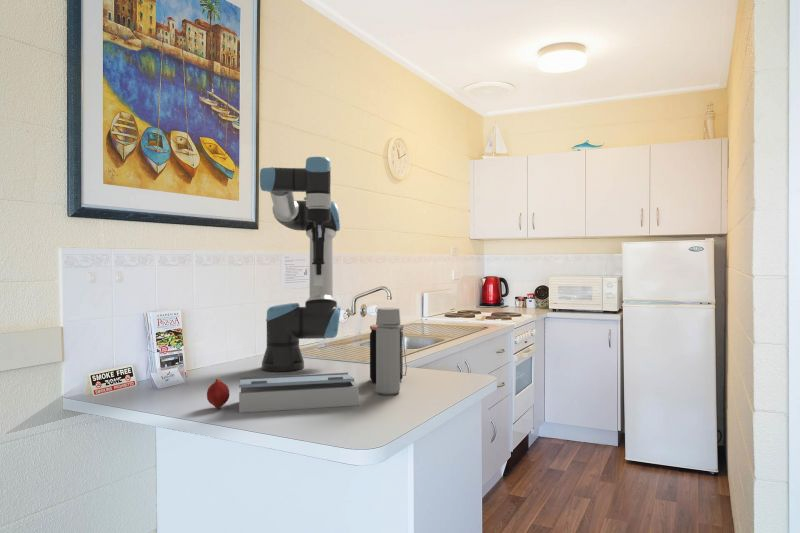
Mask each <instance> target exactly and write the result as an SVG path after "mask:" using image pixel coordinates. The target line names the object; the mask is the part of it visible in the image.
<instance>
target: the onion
mask: <svg viewBox="0 0 800 533" xmlns="http://www.w3.org/2000/svg"><path fill="white" fill-rule="evenodd" d="M229 398H230V389H229V387H228V385H227V384H226V383H224V382H223V381H222V380H221V379H220V378H216V379H215V382H213V383H212V384H211V385H210V386H208V387H207V392H206V399H207V401H208V402H209V403H210V405H212V406H213V407H215V408H216V409H221V407H223V406H224V405H225V404H227V402H228V401H229Z"/></svg>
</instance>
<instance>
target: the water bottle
mask: <svg viewBox="0 0 800 533" xmlns="http://www.w3.org/2000/svg"><path fill="white" fill-rule="evenodd" d="M400 312H401V311H400V308H399V307H380V308H379V307H378V308H377V310H376V322H375V325H377V326H378V327H376V383H375V385H376V388H375V391H376V393H378V394H379V395H383V396H392V395H396V394H398V393H400V390H401V381H400V372H401V363H402V336H403V337H404V331H403V330H404V325H403V324H401V313H400ZM398 325H399V326H398ZM400 327H401V332H402V334H401V363H400ZM404 340H405V339H404V338H403V346H405V341H404ZM403 352H404V353H403V354H404V361H405V363H404V364H405V372H404V373H403V374H402V373H401V374H402V376H403V377H404V376H405V377H406V375H407V369H408V366H407V357H406V350H405V347H403Z"/></svg>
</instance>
